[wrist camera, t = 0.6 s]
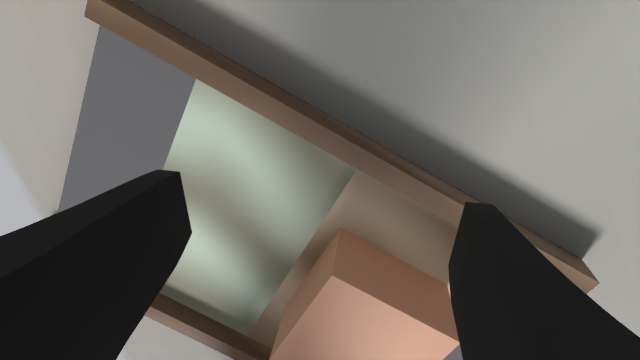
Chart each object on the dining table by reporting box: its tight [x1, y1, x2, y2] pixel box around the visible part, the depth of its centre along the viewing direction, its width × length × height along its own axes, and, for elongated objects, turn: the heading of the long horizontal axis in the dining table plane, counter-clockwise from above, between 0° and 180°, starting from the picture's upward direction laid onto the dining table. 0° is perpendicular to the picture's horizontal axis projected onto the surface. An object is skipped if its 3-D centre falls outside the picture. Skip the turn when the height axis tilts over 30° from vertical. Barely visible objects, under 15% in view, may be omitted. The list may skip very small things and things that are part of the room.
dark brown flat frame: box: [85, 0, 599, 360], centre depth 22 cm, size 17×27×2 cm, turn 61°
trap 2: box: [58, 25, 196, 213], centre depth 21 cm, size 15×5×1 cm, turn 151°
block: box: [269, 228, 460, 360], centre depth 21 cm, size 7×7×4 cm
